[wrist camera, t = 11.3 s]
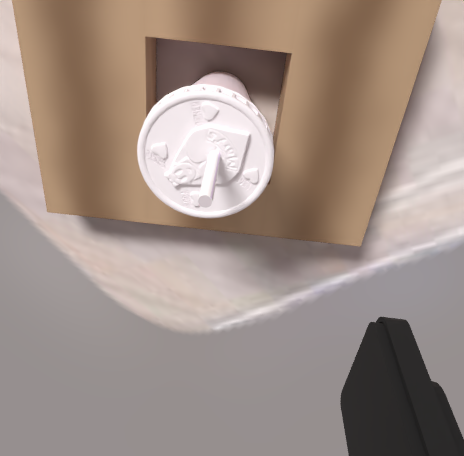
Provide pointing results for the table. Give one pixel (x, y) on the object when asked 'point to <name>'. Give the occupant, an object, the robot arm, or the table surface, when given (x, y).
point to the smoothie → (206, 148)
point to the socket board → (288, 116)
